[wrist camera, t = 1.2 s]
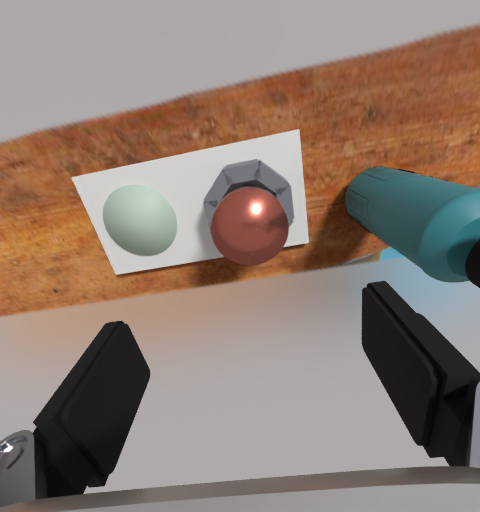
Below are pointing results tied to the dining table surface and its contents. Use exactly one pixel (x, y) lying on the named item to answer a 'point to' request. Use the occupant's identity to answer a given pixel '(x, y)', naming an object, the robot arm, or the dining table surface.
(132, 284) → the dining table surface
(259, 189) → the copper domed post
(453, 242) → the beverage bottle
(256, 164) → the board
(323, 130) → the dining table surface
